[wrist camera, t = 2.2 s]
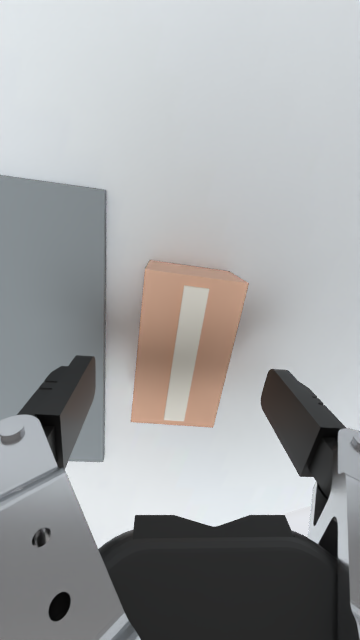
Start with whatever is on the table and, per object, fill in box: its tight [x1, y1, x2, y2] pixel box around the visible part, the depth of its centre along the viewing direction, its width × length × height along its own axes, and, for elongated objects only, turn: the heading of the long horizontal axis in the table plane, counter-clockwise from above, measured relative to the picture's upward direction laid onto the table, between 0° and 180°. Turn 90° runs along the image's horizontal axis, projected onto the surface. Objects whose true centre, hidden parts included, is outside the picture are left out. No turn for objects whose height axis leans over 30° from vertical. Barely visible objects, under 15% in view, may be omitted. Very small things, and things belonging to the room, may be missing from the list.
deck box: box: [131, 260, 249, 427], centre depth 14 cm, size 5×9×4 cm, turn 172°
